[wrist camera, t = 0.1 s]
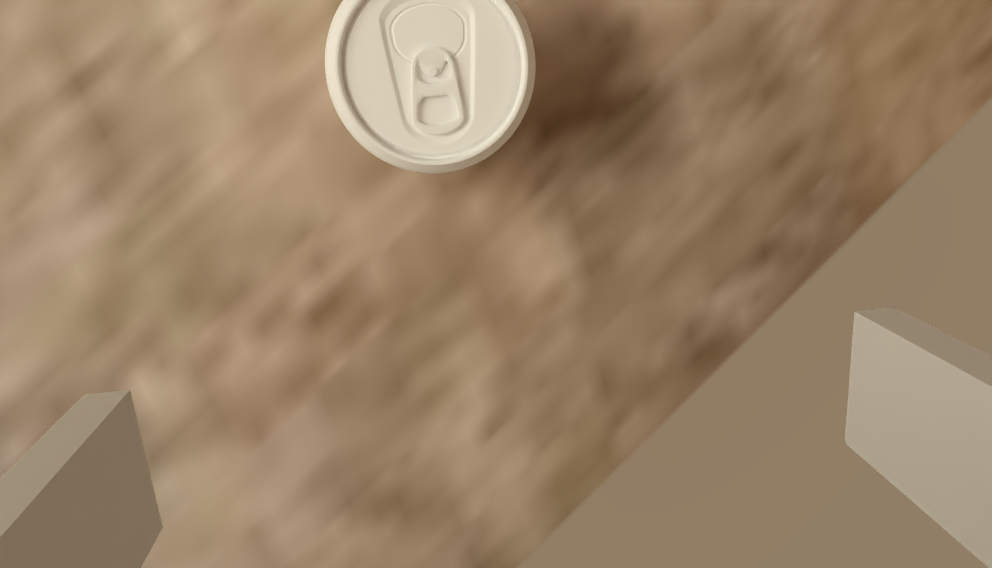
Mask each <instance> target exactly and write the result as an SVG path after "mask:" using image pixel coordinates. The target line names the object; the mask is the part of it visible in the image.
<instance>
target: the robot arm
mask: <svg viewBox="0 0 992 568" xmlns="http://www.w3.org/2000/svg"><path fill="white" fill-rule="evenodd" d="M845 443H846V444H847V445H848V446H849V447H850V448H852V449H853V450H854V451H855V452H856V453H857V454H858V455H860V456H861V457H862V458H863V459H864V460H865V461H867V462H868V463H869V464H870V465H871V466H872V467H874V468H875V469H876V470H877V471H878V472H879V473H880V474H882V475H883V476H884V477H885V478H886V479H887V480H888V481H890V482H891V483H892V484H893V485H894V486H895V487H897V488H898V489H899V490H900V491H901V492H902V493H904V494H905V495H906V496H907V497H908V498H909V499H910V500H912V501H913V502H914V503H915V504H916V505H917V506H919V507H920V508H921V509H922V510H923V511H924V512H925V513H926V514H928V515H929V516H930V517H931V518H932V519H933V520H935V521H936V522H937V523H938V524H939V525H940V526H942V527H943V528H944V529H945V530H946V531H947V532H948V533H950V534H951V535H952V536H953V537H954V538H955V539H956V540H958V541H959V542H960V543H961V544H962V545H964V546H965V547H966V548H967V549H968V550H969V551H970V552H971V553H973V554H974V555H975V556H976V557H977V558H978V559H980V560H981V561H982V562H983V563H984V564H985V565H986V566H988V567H989V568H992V356H991V355H989V354H986V353H985V352H982V351H981V350H978V349H977V348H975V347H972V346H970V345H968V344H966V343H964V342H962V341H960V340H958V339H956V338H954V337H952V336H950V335H948V334H946V333H944V332H942V331H940V330H938V329H936V328H934V327H932V326H930V325H928V324H926V323H924V322H922V321H920V320H918V319H916V318H914V317H912V316H910V315H908V314H906V313H904V312H902V311H900V310H898V309H896V308H894V307H890V308H881V309H872V310H863V311H855V313H854V326H853V339H852V353H851V367H850V379H849V393H848V407H847V420H846V433H845ZM162 528H163V527H162V522H161V518H160V514H159V510H158V506H157V501H156V497H155V493H154V489H153V485H152V480H151V476H150V472H149V468H148V464H147V459H146V455H145V451H144V447H143V443H142V438H141V434H140V430H139V426H138V422H137V418H136V413H135V409H134V405H133V401H132V397H131V392H130V390H125V391H115V392H106V393H97V394H88V395H83V396H82V397H81V398H80V399H79V400H78V401H77V402H76V403H75V404H74V405H73V406H72V407H71V408H70V409H69V410H68V411H67V412H66V413H65V414H64V415H63V416H62V417H61V418H60V419H59V420H58V421H57V422H56V423H55V424H54V425H53V426H52V427H51V428H50V429H49V430H48V431H47V432H46V433H45V434H44V435H43V436H42V437H41V438H40V439H39V440H38V441H37V442H36V443H35V444H34V445H33V446H32V447H31V448H30V449H29V450H28V451H27V452H26V453H25V454H24V455H23V456H22V457H21V458H20V459H19V460H18V461H17V462H16V463H15V464H14V465H13V466H12V467H11V468H10V469H9V470H8V471H6V472H5V473H4V474H3V475H2V476H1V477H0V568H141V566H142V564H143V562H144V561H145V559H146V557H147V555H148V553H149V551H150V550H151V548H152V546H153V544H154V542H155V540H156V539H157V537H158V535H159V533H160V531H161V529H162Z"/></svg>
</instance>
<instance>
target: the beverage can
mask: <svg viewBox="0 0 992 568" xmlns="http://www.w3.org/2000/svg"><path fill="white" fill-rule="evenodd" d="M325 72H326V80H327V85H328V89H329V93H330V96H331V99H332V102H333V105H334V107H335V109H336V111H337V113H338V115H339V117H340V119H341V120H342V122H343V124H344V125H345V127H346V128H347V129H348V131H349V132H350V133H351V134H352V136H353V137H354V138H355V139H356V140H357V141H358V142H359V143H360V144H361V145H362V146H363V147H364V148H366V149H367V150H368V151H369V152H371V153H372V154H373V155H375V156H376V157H378V158H380V159H381V160H383V161H385V162H387V163H389V164H391V165H394V166H396V167H399V168H402V169H405V170H409V171H413V172H419V173H446V172H452V171H457V170H461V169H464V168H467V167H470V166H472V165H474V164H477V163H478V162H480V161H482V160H484V159H486V158H487V157H489V156H490V155H492V154H493V153H494V152H496V151H497V150H498V149H499V148H500V147H501V146H502V145H504V144H505V143H506V141H507V140H508V139H509V138H510V137H511V136H512V134H513V133H514V132H515V130H516V129H517V128H518V126H519V124H520V123H521V121H522V119H523V117H524V115H525V113H526V111H527V109H528V106H529V103H530V100H531V97H532V93H533V88H534V83H535V72H536V61H535V51H534V45H533V40H532V36H531V33H530V30H529V27H528V24H527V22H526V20H525V17H524V15H523V13H522V11H521V10H520V8H519V6H518V5H517V3H516V2H515V0H343V1H342V3H341V4H340V6H339V8H338V10H337V12H336V14H335V16H334V18H333V21H332V23H331V26H330V29H329V33H328V37H327V42H326V50H325Z"/></svg>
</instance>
